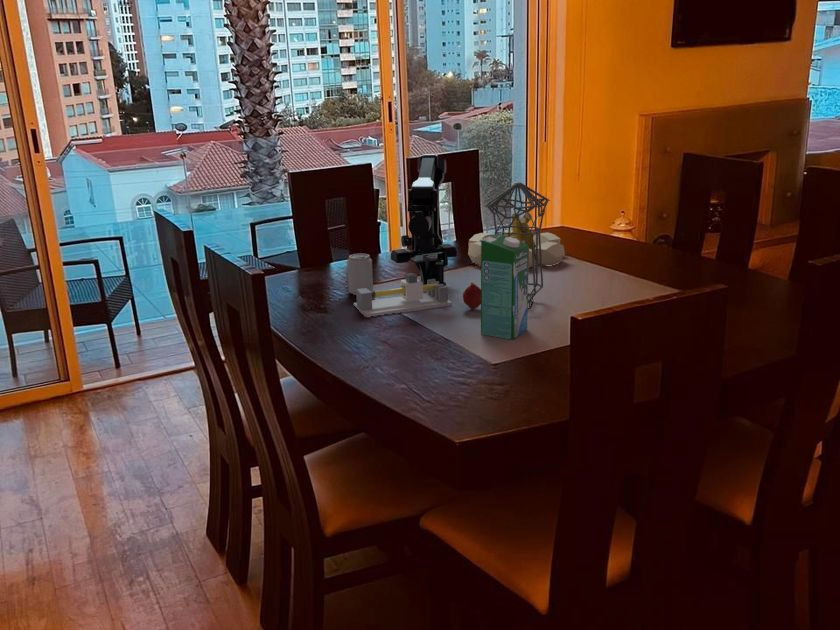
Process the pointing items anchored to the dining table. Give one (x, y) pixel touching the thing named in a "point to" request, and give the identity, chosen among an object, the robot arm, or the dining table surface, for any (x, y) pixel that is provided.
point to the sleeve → (412, 288)
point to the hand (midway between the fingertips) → (424, 282)
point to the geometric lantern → (531, 197)
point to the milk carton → (504, 286)
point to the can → (359, 272)
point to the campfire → (549, 242)
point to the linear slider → (401, 300)
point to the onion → (472, 296)
